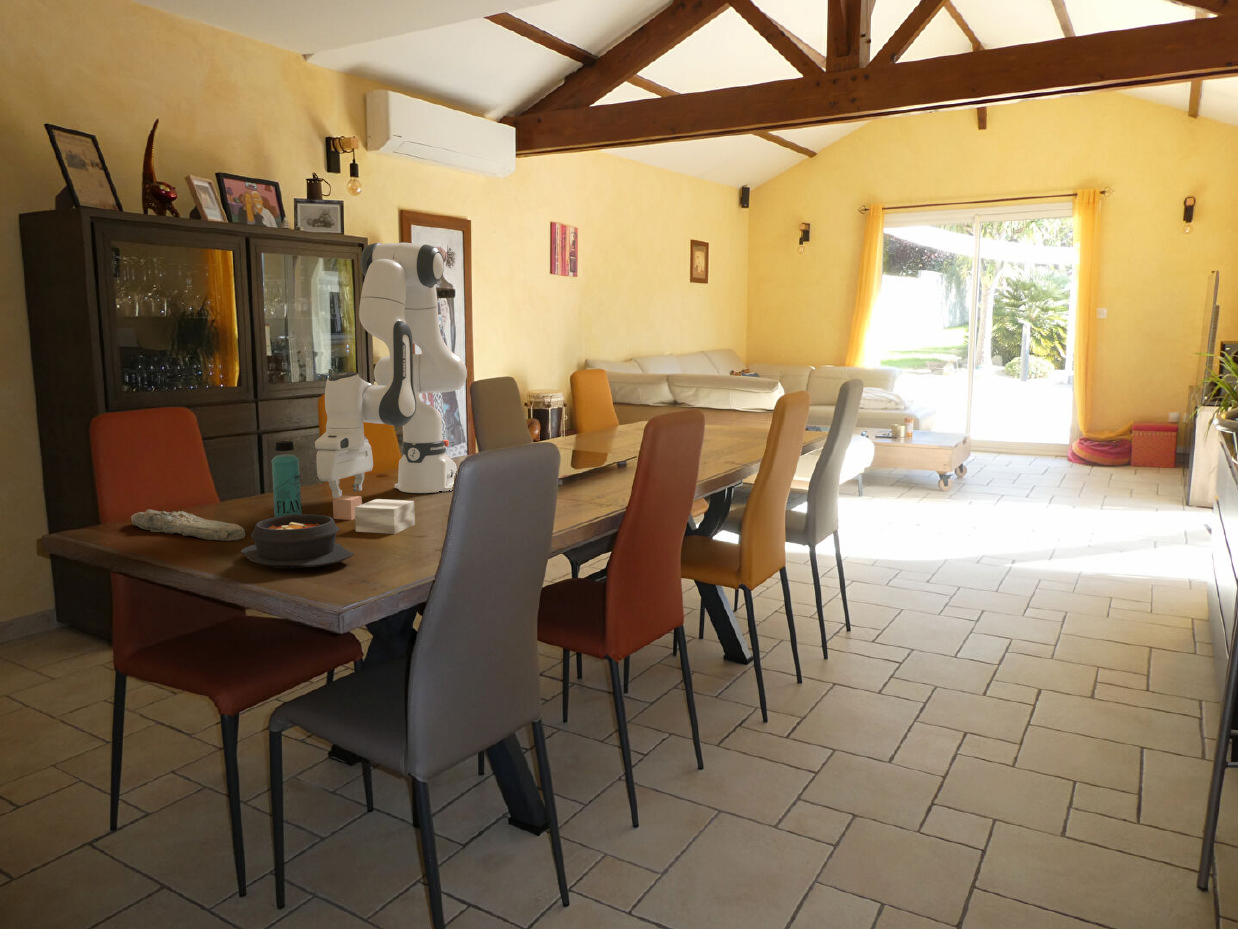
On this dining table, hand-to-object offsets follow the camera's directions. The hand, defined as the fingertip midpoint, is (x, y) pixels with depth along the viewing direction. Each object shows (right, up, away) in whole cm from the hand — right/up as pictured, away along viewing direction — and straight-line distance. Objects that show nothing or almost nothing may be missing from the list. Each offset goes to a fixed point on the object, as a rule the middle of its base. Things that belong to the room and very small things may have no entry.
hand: (347, 494), depth 223 cm
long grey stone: (-33, -9, -14) cm, 37 cm away
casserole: (+2, -13, -40) cm, 42 cm away
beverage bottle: (-13, -7, -5) cm, 15 cm away
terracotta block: (0, -6, +2) cm, 6 cm away
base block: (+12, -8, -10) cm, 17 cm away
